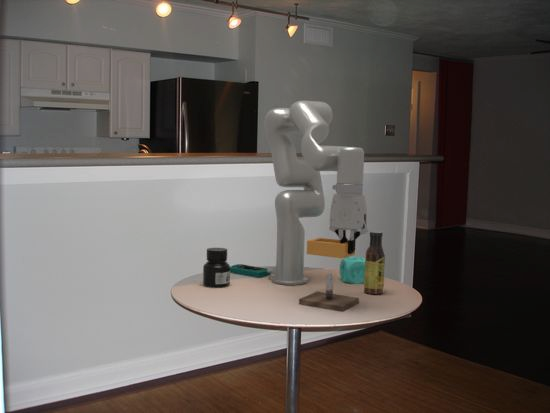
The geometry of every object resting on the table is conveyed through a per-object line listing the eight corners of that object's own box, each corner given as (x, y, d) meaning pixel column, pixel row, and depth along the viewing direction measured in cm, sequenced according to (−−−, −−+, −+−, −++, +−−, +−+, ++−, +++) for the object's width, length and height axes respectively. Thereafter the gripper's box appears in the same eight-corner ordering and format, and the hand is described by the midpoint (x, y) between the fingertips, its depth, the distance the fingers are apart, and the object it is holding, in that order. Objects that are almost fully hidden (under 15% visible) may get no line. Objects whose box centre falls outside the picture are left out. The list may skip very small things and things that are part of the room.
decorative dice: (339, 279, 214) (339, 256, 213) (360, 278, 215) (361, 256, 215) (346, 284, 206) (347, 261, 205) (368, 283, 208) (369, 260, 207)
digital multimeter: (240, 270, 226) (240, 262, 226) (271, 276, 217) (272, 268, 217) (227, 273, 220) (227, 265, 220) (259, 279, 211) (259, 271, 211)
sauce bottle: (381, 295, 190) (384, 233, 188) (361, 293, 192) (364, 232, 190) (384, 291, 196) (387, 231, 194) (366, 289, 198) (368, 229, 197)
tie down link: (306, 254, 177) (307, 240, 177) (318, 250, 184) (318, 237, 184) (344, 258, 171) (344, 244, 171) (354, 254, 178) (355, 241, 178)
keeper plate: (298, 304, 178) (299, 274, 177) (316, 296, 188) (317, 267, 187) (342, 311, 171) (343, 280, 170) (358, 302, 181) (359, 273, 180)
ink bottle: (222, 289, 194) (222, 252, 192) (197, 286, 197) (198, 250, 195) (234, 283, 203) (235, 248, 201) (211, 280, 206) (211, 246, 204)
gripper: (319, 189, 174) (317, 251, 176) (370, 192, 166) (367, 257, 168) (330, 188, 180) (328, 248, 182) (379, 190, 173) (377, 254, 174)
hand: (347, 252), depth 175 cm, fingers closed on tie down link, 1 cm apart
